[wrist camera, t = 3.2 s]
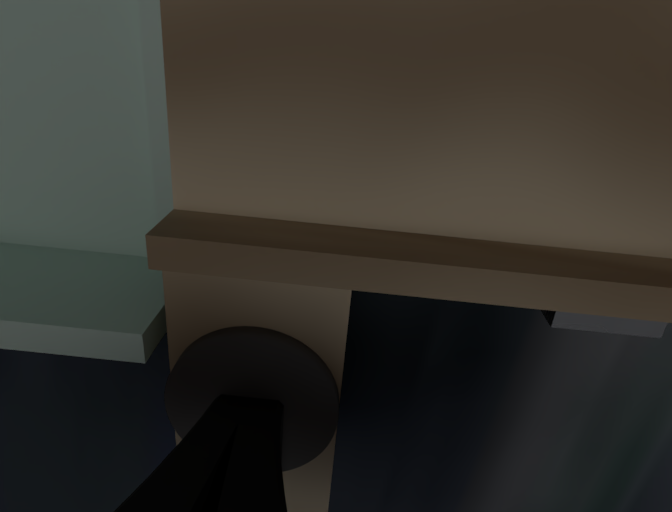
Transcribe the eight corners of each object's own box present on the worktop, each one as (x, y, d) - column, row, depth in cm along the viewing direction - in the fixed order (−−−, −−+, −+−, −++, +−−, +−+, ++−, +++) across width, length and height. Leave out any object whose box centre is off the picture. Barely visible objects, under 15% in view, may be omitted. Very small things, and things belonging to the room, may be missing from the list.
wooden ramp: (755, 458, 15) (932, 657, 10) (221, 400, 15) (154, 565, 10) (1049, -18, 9) (1723, -63, 5) (208, -88, 10) (59, -194, 5)
